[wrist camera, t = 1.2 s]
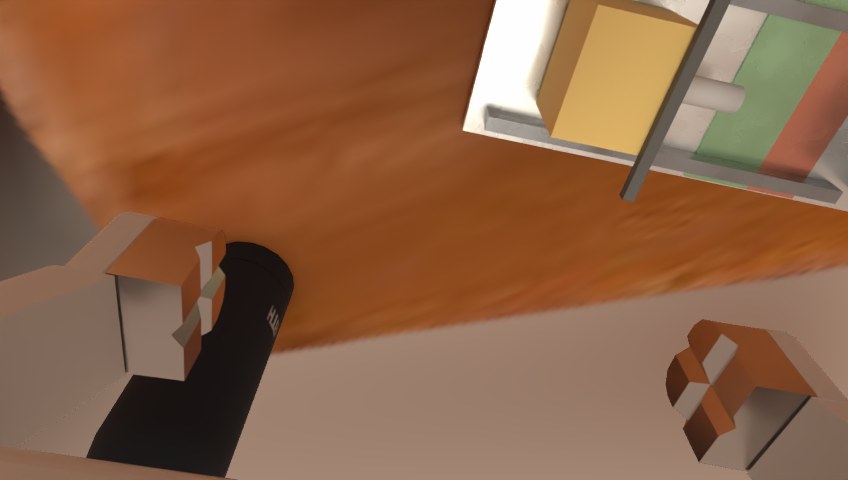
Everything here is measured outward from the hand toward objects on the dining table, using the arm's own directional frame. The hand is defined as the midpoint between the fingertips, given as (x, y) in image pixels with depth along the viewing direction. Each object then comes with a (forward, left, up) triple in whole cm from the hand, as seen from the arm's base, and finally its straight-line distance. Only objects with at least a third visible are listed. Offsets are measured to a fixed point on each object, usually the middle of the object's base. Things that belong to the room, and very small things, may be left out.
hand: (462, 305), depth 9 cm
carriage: (0, +10, -22) cm, 24 cm away
